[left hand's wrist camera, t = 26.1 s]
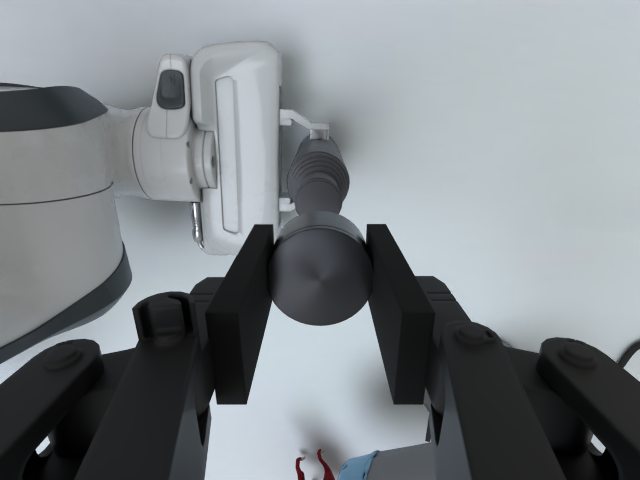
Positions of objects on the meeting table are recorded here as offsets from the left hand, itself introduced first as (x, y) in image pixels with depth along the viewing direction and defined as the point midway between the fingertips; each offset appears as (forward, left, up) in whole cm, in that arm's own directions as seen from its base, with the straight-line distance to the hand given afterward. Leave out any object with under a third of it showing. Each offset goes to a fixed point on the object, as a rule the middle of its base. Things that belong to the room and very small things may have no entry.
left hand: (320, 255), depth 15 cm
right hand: (-1, -1, -22) cm, 22 cm away
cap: (0, 0, +2) cm, 2 cm away
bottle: (0, 0, -28) cm, 28 cm away
